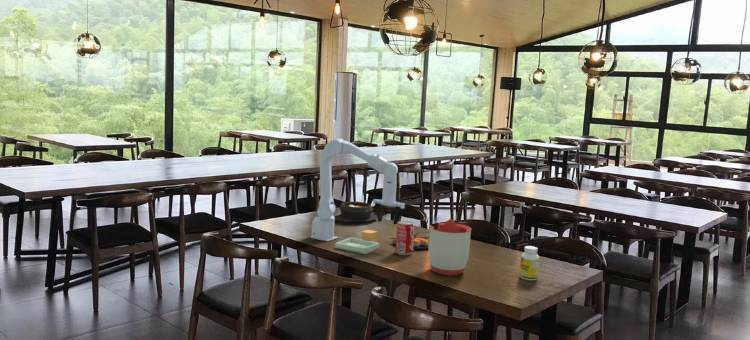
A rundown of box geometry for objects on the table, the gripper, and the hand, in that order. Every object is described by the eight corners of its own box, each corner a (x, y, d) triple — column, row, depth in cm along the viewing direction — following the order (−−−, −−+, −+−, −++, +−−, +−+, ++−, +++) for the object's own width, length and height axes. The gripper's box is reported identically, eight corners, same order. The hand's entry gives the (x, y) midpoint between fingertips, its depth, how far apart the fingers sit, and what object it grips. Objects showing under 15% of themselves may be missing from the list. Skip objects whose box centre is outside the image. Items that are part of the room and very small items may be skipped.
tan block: (360, 242, 259) (361, 231, 258) (366, 240, 263) (367, 229, 263) (370, 244, 257) (371, 233, 256) (376, 242, 261) (377, 231, 260)
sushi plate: (402, 253, 248) (403, 244, 248) (377, 235, 276) (377, 227, 275) (464, 249, 258) (465, 241, 258) (434, 232, 286) (434, 225, 286)
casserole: (348, 227, 286) (348, 210, 285) (324, 219, 299) (325, 203, 298) (386, 221, 302) (387, 205, 301) (362, 214, 316) (363, 199, 315)
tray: (335, 248, 248) (335, 242, 248) (351, 242, 259) (351, 237, 258) (364, 254, 241) (364, 248, 241) (379, 248, 252) (379, 243, 251)
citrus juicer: (437, 261, 236) (440, 211, 234) (476, 272, 226) (480, 219, 223) (414, 269, 224) (417, 217, 222) (453, 280, 214) (457, 226, 211)
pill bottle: (516, 275, 224) (519, 244, 223) (533, 275, 225) (536, 245, 223) (522, 280, 218) (525, 249, 216) (539, 281, 218) (542, 250, 217)
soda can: (412, 256, 242) (414, 225, 240) (394, 255, 243) (396, 223, 241) (413, 251, 249) (415, 221, 247) (396, 250, 250) (397, 219, 248)
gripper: (369, 190, 256) (368, 221, 258) (399, 194, 249) (398, 226, 251) (378, 188, 262) (376, 218, 264) (407, 192, 255) (405, 224, 257)
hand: (387, 222), depth 258 cm, fingers open, 7 cm apart
